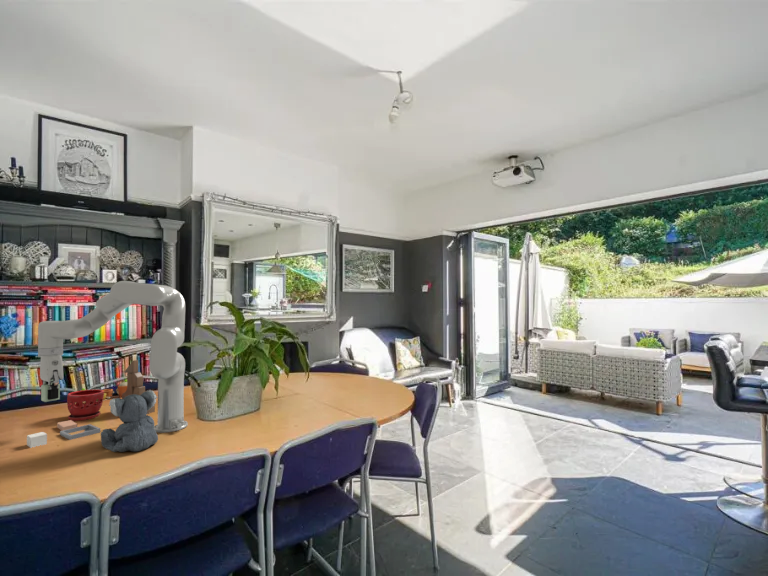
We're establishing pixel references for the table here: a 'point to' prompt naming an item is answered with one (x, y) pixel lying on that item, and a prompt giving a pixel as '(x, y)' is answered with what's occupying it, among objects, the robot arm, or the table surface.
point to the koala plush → (131, 424)
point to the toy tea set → (120, 390)
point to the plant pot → (84, 404)
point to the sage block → (45, 393)
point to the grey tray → (88, 430)
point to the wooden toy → (135, 382)
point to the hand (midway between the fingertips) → (50, 397)
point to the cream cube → (36, 439)
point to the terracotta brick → (66, 425)
